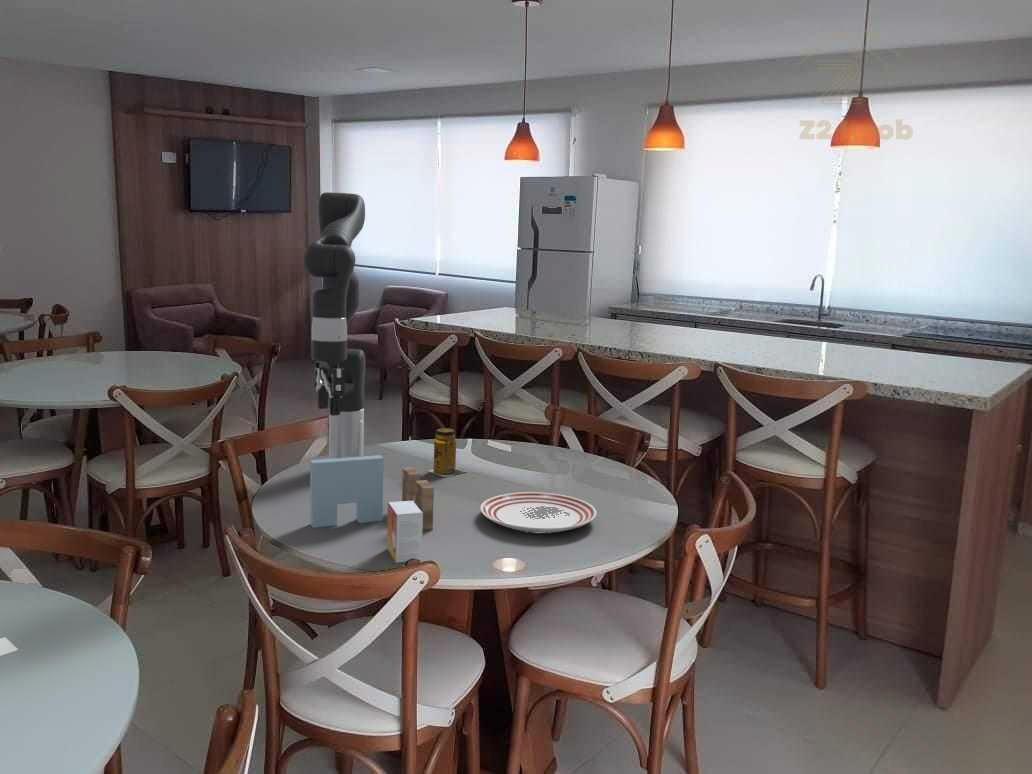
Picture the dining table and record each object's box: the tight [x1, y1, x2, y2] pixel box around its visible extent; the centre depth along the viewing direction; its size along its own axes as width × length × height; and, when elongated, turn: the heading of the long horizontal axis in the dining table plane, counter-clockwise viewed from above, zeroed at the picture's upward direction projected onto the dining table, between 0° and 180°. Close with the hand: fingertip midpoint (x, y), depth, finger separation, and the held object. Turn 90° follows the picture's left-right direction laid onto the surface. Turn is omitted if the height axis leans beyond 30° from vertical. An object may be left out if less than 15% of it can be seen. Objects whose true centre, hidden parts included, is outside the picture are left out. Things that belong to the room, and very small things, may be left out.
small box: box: [386, 500, 423, 564], centre depth 183 cm, size 8×6×10 cm
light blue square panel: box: [309, 454, 385, 529], centre depth 199 cm, size 2×16×15 cm, turn 114°
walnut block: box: [401, 466, 435, 532], centre depth 204 cm, size 16×2×10 cm, turn 24°
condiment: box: [426, 427, 468, 478], centre depth 241 cm, size 7×8×12 cm
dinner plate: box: [479, 491, 597, 533], centre depth 208 cm, size 28×27×3 cm
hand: (328, 411), depth 192 cm, fingers open, 8 cm apart
